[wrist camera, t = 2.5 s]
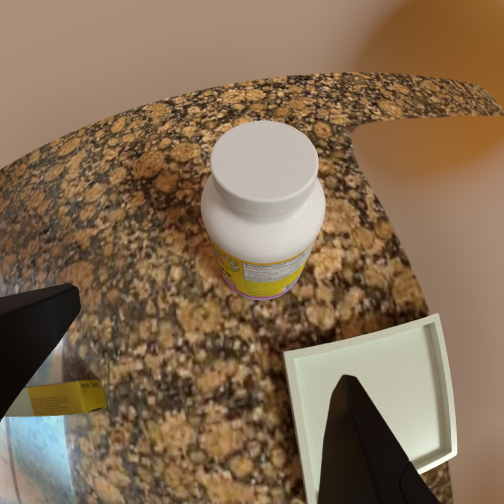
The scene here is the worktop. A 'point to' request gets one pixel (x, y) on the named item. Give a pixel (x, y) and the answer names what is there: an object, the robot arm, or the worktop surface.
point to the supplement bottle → (262, 207)
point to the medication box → (59, 399)
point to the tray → (377, 392)
